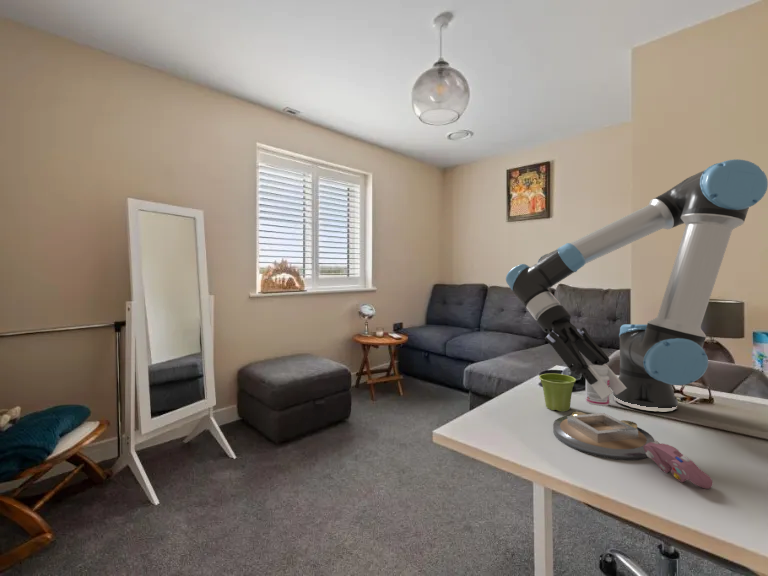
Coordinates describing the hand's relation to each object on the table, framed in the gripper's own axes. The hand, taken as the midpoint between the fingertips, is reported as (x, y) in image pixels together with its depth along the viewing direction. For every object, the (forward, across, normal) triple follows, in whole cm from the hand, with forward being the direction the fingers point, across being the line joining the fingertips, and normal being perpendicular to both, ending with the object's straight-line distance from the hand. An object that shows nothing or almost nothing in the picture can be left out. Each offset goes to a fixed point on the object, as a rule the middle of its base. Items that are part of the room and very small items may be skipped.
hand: (614, 393), depth 79 cm
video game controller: (+17, +4, +1) cm, 18 cm away
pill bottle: (0, 0, -5) cm, 5 cm away
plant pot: (-6, -9, -23) cm, 25 cm away
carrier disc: (+6, 0, -10) cm, 12 cm away
